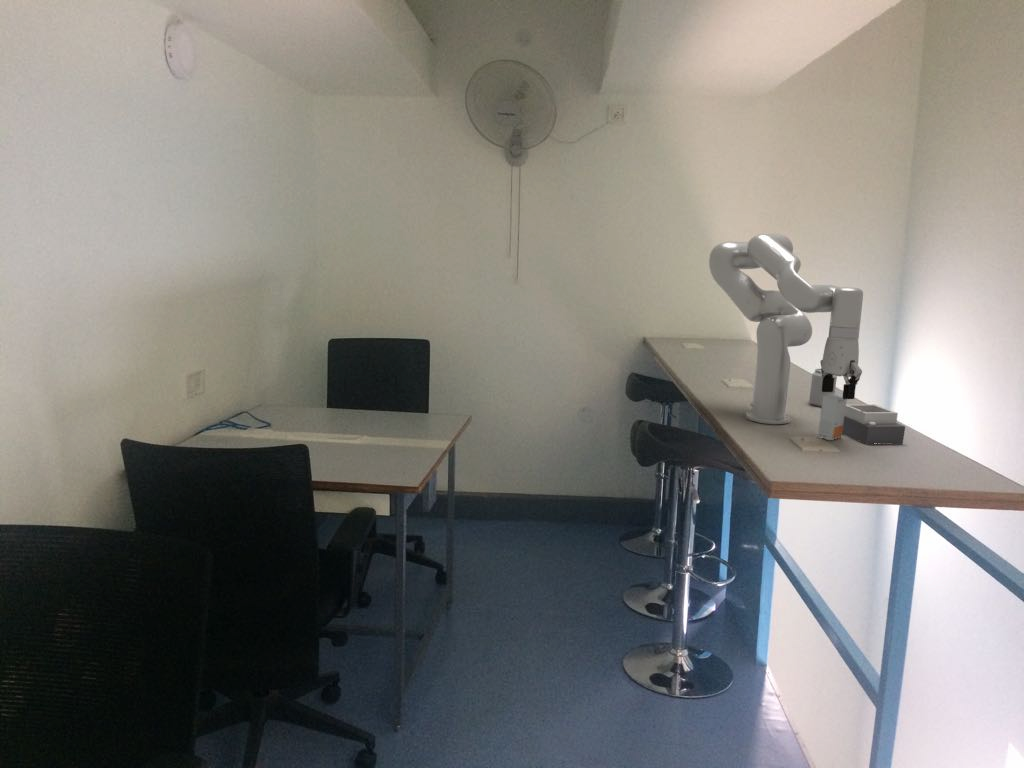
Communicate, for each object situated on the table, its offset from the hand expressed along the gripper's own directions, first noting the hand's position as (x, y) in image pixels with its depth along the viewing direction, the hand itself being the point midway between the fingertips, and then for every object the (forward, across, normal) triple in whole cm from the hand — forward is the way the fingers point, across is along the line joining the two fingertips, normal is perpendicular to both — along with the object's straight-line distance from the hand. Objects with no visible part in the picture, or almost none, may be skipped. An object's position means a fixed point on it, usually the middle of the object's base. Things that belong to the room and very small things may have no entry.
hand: (837, 395), depth 206 cm
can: (+12, -39, +21) cm, 46 cm away
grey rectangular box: (+12, -2, +12) cm, 17 cm away
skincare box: (+12, -1, 0) cm, 13 cm away
